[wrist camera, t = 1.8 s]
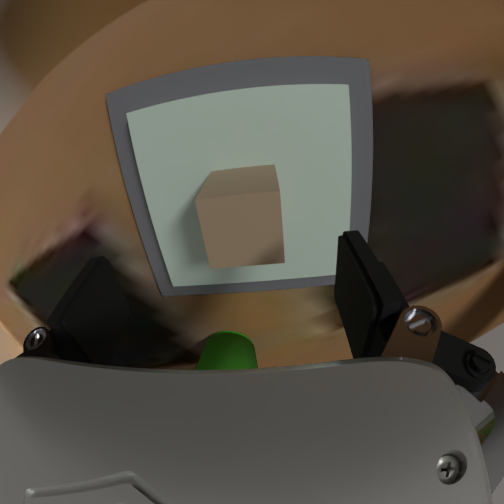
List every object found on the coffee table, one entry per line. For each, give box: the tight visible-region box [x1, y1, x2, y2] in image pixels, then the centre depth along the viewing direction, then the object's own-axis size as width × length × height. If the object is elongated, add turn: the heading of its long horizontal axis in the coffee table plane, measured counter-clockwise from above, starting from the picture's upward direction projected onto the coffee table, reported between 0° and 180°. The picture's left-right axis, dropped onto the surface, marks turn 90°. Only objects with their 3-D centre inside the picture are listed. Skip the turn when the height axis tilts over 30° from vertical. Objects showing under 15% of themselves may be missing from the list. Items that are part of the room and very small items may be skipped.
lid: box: [126, 84, 352, 287], centre depth 16 cm, size 14×14×6 cm
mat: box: [106, 56, 373, 296], centre depth 19 cm, size 18×18×1 cm
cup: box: [195, 331, 258, 370], centre depth 24 cm, size 9×9×11 cm
